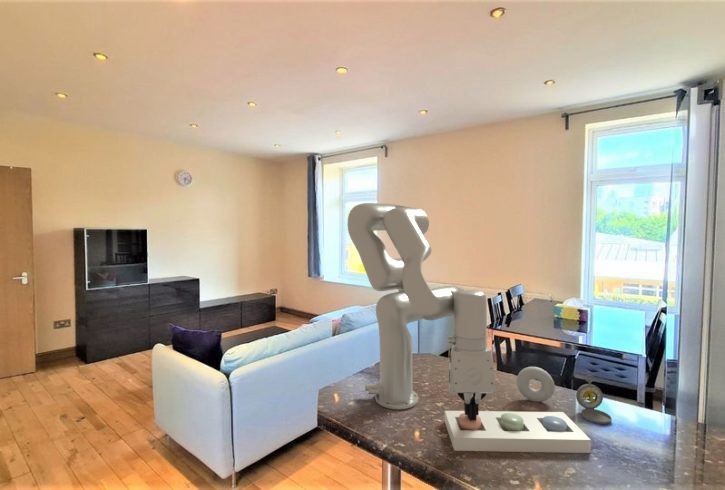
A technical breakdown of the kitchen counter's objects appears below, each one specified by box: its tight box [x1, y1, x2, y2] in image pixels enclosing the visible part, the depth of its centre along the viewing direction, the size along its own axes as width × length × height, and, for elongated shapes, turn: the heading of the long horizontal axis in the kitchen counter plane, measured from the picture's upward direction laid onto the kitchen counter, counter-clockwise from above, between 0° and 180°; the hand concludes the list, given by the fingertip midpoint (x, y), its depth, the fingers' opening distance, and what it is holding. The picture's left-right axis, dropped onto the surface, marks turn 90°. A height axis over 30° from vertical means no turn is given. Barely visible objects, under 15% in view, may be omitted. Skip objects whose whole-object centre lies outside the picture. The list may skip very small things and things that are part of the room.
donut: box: [516, 366, 556, 403], centre depth 103 cm, size 10×4×10 cm, turn 64°
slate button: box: [543, 416, 567, 432], centre depth 86 cm, size 5×5×2 cm
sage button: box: [501, 413, 523, 431], centre depth 86 cm, size 5×5×2 cm
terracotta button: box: [459, 413, 481, 431], centre depth 87 cm, size 5×5×2 cm
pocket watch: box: [575, 374, 613, 425], centre depth 95 cm, size 8×8×10 cm
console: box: [444, 410, 592, 454], centre depth 86 cm, size 30×12×3 cm, turn 87°
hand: (471, 417), depth 86 cm, fingers closed
